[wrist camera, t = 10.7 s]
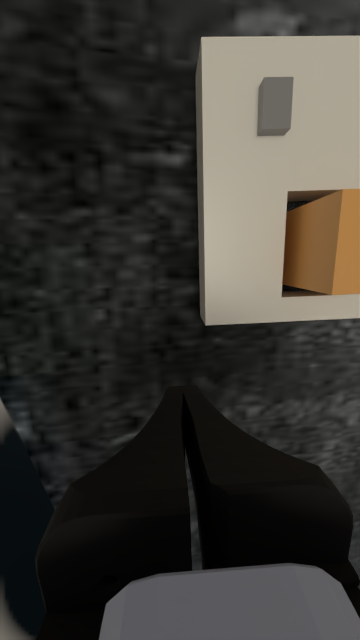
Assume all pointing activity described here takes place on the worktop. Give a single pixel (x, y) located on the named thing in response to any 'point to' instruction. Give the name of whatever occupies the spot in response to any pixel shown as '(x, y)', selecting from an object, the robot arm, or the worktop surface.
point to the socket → (270, 166)
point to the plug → (324, 244)
